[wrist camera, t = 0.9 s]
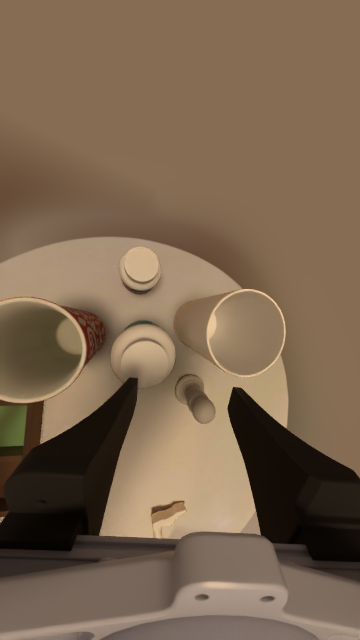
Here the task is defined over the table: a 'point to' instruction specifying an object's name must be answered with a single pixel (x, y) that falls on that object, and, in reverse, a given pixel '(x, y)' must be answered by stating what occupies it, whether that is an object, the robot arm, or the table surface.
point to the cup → (234, 330)
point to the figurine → (166, 518)
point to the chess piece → (195, 398)
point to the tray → (17, 438)
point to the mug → (43, 347)
